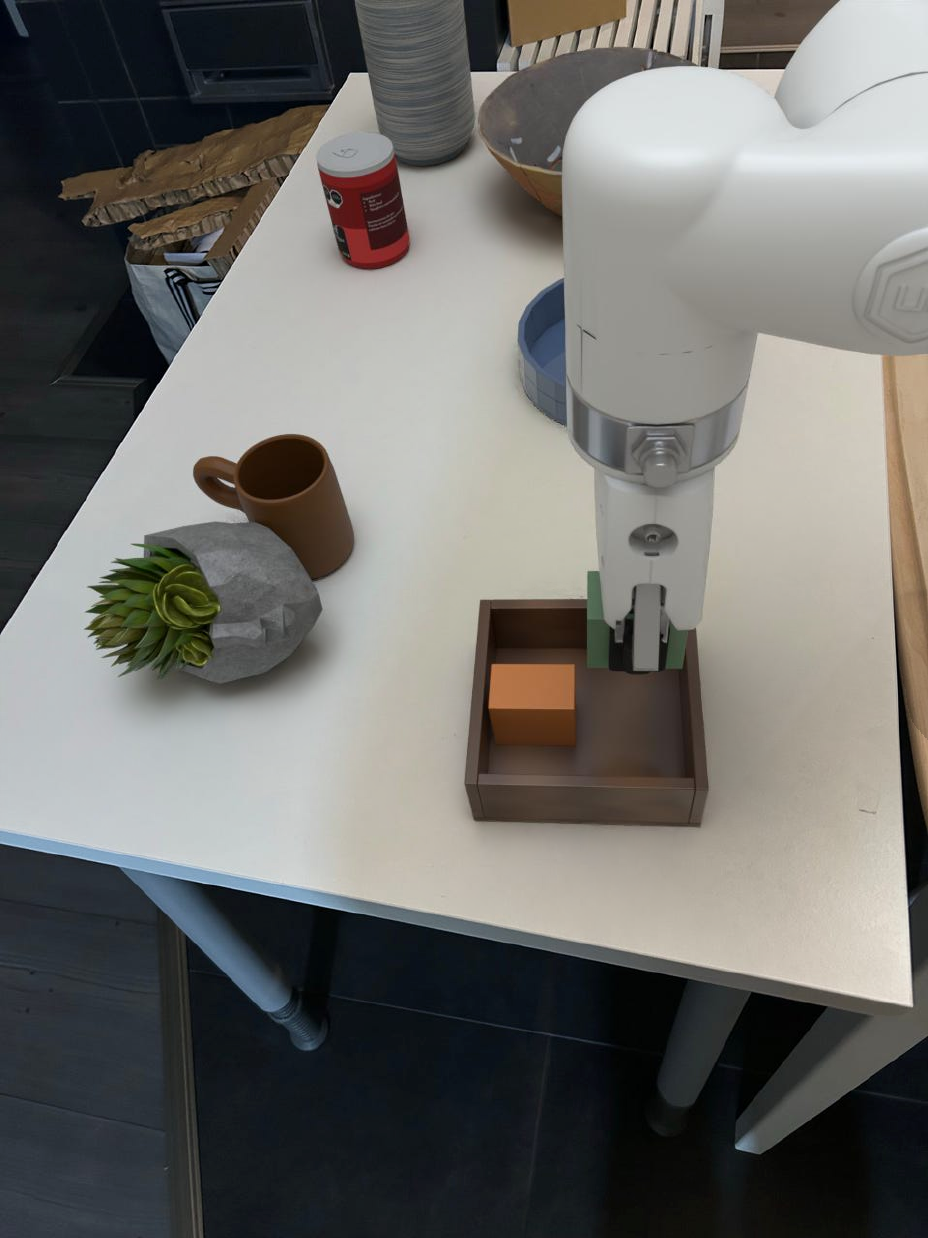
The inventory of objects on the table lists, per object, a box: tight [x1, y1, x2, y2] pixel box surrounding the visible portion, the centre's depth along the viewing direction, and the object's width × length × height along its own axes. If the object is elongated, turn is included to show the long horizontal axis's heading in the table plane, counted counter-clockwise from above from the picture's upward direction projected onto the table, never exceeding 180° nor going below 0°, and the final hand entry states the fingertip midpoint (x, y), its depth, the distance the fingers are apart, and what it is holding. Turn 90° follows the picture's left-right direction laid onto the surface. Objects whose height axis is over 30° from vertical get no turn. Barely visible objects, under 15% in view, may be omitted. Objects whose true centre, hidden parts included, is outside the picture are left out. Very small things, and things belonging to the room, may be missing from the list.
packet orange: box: [489, 664, 576, 746], centre depth 62 cm, size 6×3×5 cm, turn 86°
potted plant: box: [83, 520, 323, 685], centre depth 66 cm, size 12×13×15 cm
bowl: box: [477, 46, 701, 218], centre depth 98 cm, size 25×25×10 cm
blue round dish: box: [517, 277, 567, 427], centre depth 83 cm, size 18×18×4 cm
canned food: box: [315, 131, 410, 270], centre depth 96 cm, size 8×8×11 cm
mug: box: [192, 433, 355, 580], centre depth 73 cm, size 12×8×9 cm, turn 73°
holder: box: [463, 598, 710, 828], centre depth 61 cm, size 15×14×6 cm
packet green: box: [586, 570, 688, 669], centre depth 53 cm, size 6×3×5 cm, turn 86°
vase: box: [353, 0, 476, 167], centre depth 103 cm, size 12×12×23 cm
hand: (635, 636), depth 54 cm, fingers closed on packet green, 3 cm apart
